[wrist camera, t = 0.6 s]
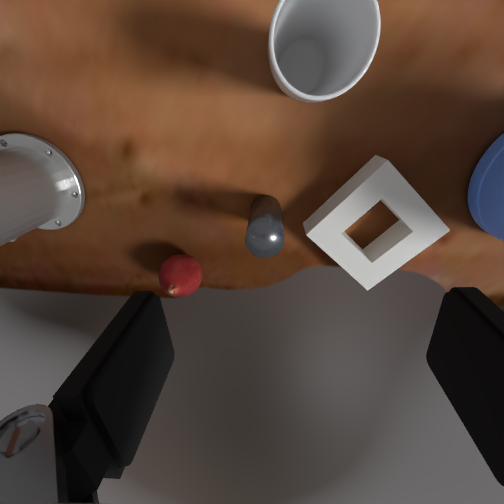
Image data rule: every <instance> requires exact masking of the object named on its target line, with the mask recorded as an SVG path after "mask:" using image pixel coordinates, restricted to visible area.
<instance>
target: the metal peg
mask: <svg viewBox="0 0 504 504" xmlns="http://www.w3.org/2000/svg"><path fill="white" fill-rule="evenodd" d="M245 243H246V247H247V249H248V250H249V251H250V252H251V253H252V254H253V255H255V256H257V257H260V258H270V257H273V256H275V255H277V254H278V253H279V252H280V251H281V249H282V248H283V245H284V233H283V224H282V215H281V207H280V204H279V202H278V200H277V199H276V198H274V197H272V196H269V195H263V196H260V197H258V198H256V199H255V200H254V202H253V203H252V206H251V211H250V216H249V221H248V227H247V232H246V237H245Z"/></svg>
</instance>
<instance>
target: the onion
mask: <svg viewBox="0 0 504 504" xmlns="http://www.w3.org/2000/svg"><path fill="white" fill-rule="evenodd" d="M201 280H202V268H201V266H200V265H199V263H198V261H197V260H196V259H194V258H193V257H191V256H189V255H186V254H178V255H174V256H171V257H169V258H168V259H167V260H166V261H165V262H163V264H162V266H161V268H160V271H159V282H160V285H161V287H162V288H163V290H164V291H165V292H166V293H167V294H169V295H171V296H174V297H185V296H187V295H189V294H192V293H193V292H194V291H195V290H196V289H197V288H198V287H199V285H200V283H201Z"/></svg>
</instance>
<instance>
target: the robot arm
mask: <svg viewBox="0 0 504 504" xmlns="http://www.w3.org/2000/svg"><path fill="white" fill-rule="evenodd" d="M84 201H85V193H84V187H83V183H82V180H81V178H80V176H79V174H78V171H77V169H76V168H75V167H74V165H73V164H72V162H71V161H70V160H69V159H68V157H67V156H66V155H65V154H64V153H63V152H62V151H60V150H59V149H58V148H57V147H56V146H54V145H53V144H51V143H50V142H48V141H46V140H45V139H42V138H40V137H37V136H35V135H30V134H26V133H13V134H5V135H2V136H0V246H1V245H3V244H5V243H7V242H9V241H12V242H13V241H16V240H17V238H18V237H19V236H21V235H23V234H25V233H27V232H29V231H31V230H33V229H35V228H40V229H45V230H54V229H60V228H63V227H65V226H67V225H69V224H71V223H72V222H74V221H75V220H76V219H77V218H78V217H79V215H80V214H81V212H82V210H83V207H84ZM426 358H427V362H428V365H429V367H430V368H431V370H432V372H433V373H434V375H435V377H436V379H437V380H438V382H439V384H440V385H441V387H442V389H443V390H444V392H445V394H446V395H447V397H448V399H449V400H450V402H451V404H452V406H453V407H454V409H455V411H456V412H457V414H458V416H459V417H460V419H461V421H462V422H463V424H464V426H465V427H466V429H467V431H468V432H469V434H470V436H471V438H472V439H473V441H474V443H475V444H476V446H477V447H478V449H479V451H480V453H481V454H482V456H483V458H484V459H485V461H486V463H487V464H488V466H489V468H490V469H491V471H492V473H493V475H494V476H495V478H496V479H497V481H498V482H499V483H500V484H501V485H502V486H504V312H503V311H502V310H501V309H500V308H499V307H498V306H497V305H496V304H494V303H493V302H492V301H491V300H490V299H489V298H488V297H487V296H485V295H484V294H483V293H482V292H481V291H480V290H479V289H477V288H475V287H454V288H452V289H451V290H450V291H449V292H447V293H445V295H444V297H443V300H442V304H441V307H440V310H439V314H438V317H437V320H436V324H435V327H434V330H433V334H432V337H431V340H430V344H429V347H428V350H427V355H426ZM173 360H174V349H173V345H172V341H171V337H170V334H169V330H168V326H167V322H166V319H165V315H164V311H163V308H162V304H161V300H160V297H159V296H158V295H155V293H154V292H153V291H135V292H134V293H133V294H132V295H131V297H130V298H129V299H128V301H127V302H126V303H125V304H124V306H123V307H122V308H121V310H120V311H119V312H118V313H117V315H116V316H115V317H114V318H113V320H112V321H111V322H110V324H109V325H108V326H107V328H106V329H105V330H104V331H103V333H102V334H101V335H100V336H99V338H98V339H97V340H96V342H95V343H94V344H93V345H92V347H91V348H90V349H89V351H88V352H87V353H86V354H85V356H84V357H83V358H82V360H81V361H80V362H79V363H78V365H77V366H76V367H75V369H74V370H73V371H72V372H71V374H70V375H69V376H68V378H67V379H66V380H65V381H64V383H63V384H62V385H61V387H60V388H59V389H58V391H57V392H56V393H55V394H54V396H53V398H54V399H53V400H52V402H51V403H50V404H49V405H48V407H47V406H46V405H42V404H35V405H29V406H26V407H23V408H21V409H18V410H16V411H15V412H13V413H11V414H9V415H8V416H6V417H5V418H3V419H2V420H1V421H0V504H99V499H98V493H97V489H98V487H99V485H100V483H101V481H102V479H103V478H114V479H120V478H121V475H122V473H123V471H124V468H125V466H129V465H130V464H131V462H132V461H133V458H134V456H135V454H136V451H137V449H138V446H139V444H140V441H141V439H142V436H143V434H144V431H145V429H146V426H147V424H148V422H149V419H150V417H151V415H152V412H153V410H154V407H155V405H156V402H157V400H158V397H159V395H160V393H161V390H162V388H163V385H164V383H165V380H166V378H167V375H168V373H169V370H170V368H171V366H172V363H173Z"/></svg>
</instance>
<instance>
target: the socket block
mask: <svg viewBox="0 0 504 504" xmlns="http://www.w3.org/2000/svg"><path fill="white" fill-rule="evenodd" d="M380 200H381V201H382V202H383V203H384V204H385V205H386V206H387V207H388V208H389V209H390V210H391V212H392V213H393V214H394V215H395V216H396V217H397V218H398V219H399V220H398V221H397V222H396V223H395V224H393V225H392V226H391V227H390V228H388V229H387V230H386V231H385V232H384V233H382V234H381V235H380V236H379V237H377V238H376V239H375V240H374V241H372V242H371V243H370V244H369V245H367V246H366V247H365V248H364V249H362V248H361V247H360V246H359V245H358V244H357V243H356V242H355V241H354V240H353V239H351V238H350V237H349V236H348V235H347V234H346V233H345V232H344V231H345V230H346V229H347V228H348V227H350V226H351V225H352V224H353V223H354V222H355V221H357V220H358V219H359V218H360V217H361V216H362V215H364V214H365V213H366V212H367V211H368V210H369V209H371V208H372V207H373V206H374V205H375V204H376V203H378V202H379V201H380ZM303 226H304V230H305V233H306V235H307V236H308V237H309V238H310V239H311V240H312V241H313V242H314V243H316V244H317V245H318V246H319V247H320V248H321V249H322V250H323V251H324V252H326V253H327V254H328V255H329V256H330V257H331V258H332V259H333V260H334V261H336V262H337V263H338V264H339V265H340V266H341V267H342V268H343V269H344V270H346V271H347V272H348V273H349V274H350V275H351V276H352V277H353V278H354V279H356V280H357V281H358V282H359V283H360V284H361V285H362V286H363V287H364V288H366V289H367V290H369V289H370V288H372V287H373V286H375V285H376V284H377V283H379V282H380V281H381V280H383V279H384V278H386V277H387V276H388V275H389V274H391V273H392V272H394V271H395V270H396V269H398V268H399V267H401V266H402V265H403V264H405V263H406V262H407V261H409V260H410V259H412V258H413V257H414V256H416V255H417V254H418V253H420V252H421V251H423V250H424V249H425V248H427V247H428V246H429V245H431V244H432V243H434V242H435V241H436V240H438V239H439V238H440V237H442V236H443V235H445V234H446V233H447V232H449V231H450V229H449V228H448V227H447V226H446V225H445V224H444V223H443V222H442V220H441V219H440V218H439V217H438V216H437V215H436V214H435V213H434V211H433V210H432V209H431V208H430V207H429V206H428V205H427V203H426V202H425V201H424V200H423V199H422V198H421V197H420V196H419V194H418V193H417V192H416V191H415V190H414V189H413V188H412V186H411V185H410V184H409V183H408V182H407V181H406V180H405V179H404V177H403V176H402V175H401V174H400V173H399V172H398V171H397V170H396V168H395V167H394V166H393V165H392V164H391V163H390V162H389V160H387V159H384V158H382V157H380V156H377V155H375V156H374V157H373V158H371V159H370V160H369V161H368V162H367V163H366V164H365V165H364V166H363V167H362V168H361V169H360V170H359V171H358V172H357V173H356V174H354V175H353V176H352V177H351V178H350V179H349V180H348V181H347V182H346V183H345V184H344V185H343V186H342V187H341V188H340V189H339V190H337V191H336V192H335V193H334V194H333V195H332V196H331V197H330V198H329V199H328V200H327V201H326V202H325V203H324V204H323V205H321V206H320V207H319V208H318V209H317V210H316V211H315V212H314V213H313V214H312V215H311V216H310V217H309V218H308V219H307V220H306V221H304V222H303Z"/></svg>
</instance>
